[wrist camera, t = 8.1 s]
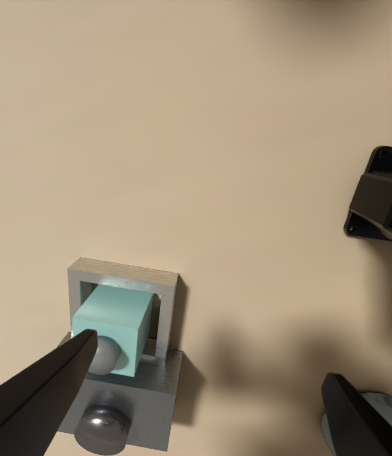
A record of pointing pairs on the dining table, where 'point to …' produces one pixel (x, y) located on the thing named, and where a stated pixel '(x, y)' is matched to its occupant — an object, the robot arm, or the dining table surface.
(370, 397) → the moka pot
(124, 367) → the mint block with knob
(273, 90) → the dining table surface
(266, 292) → the dining table surface
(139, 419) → the square frame
